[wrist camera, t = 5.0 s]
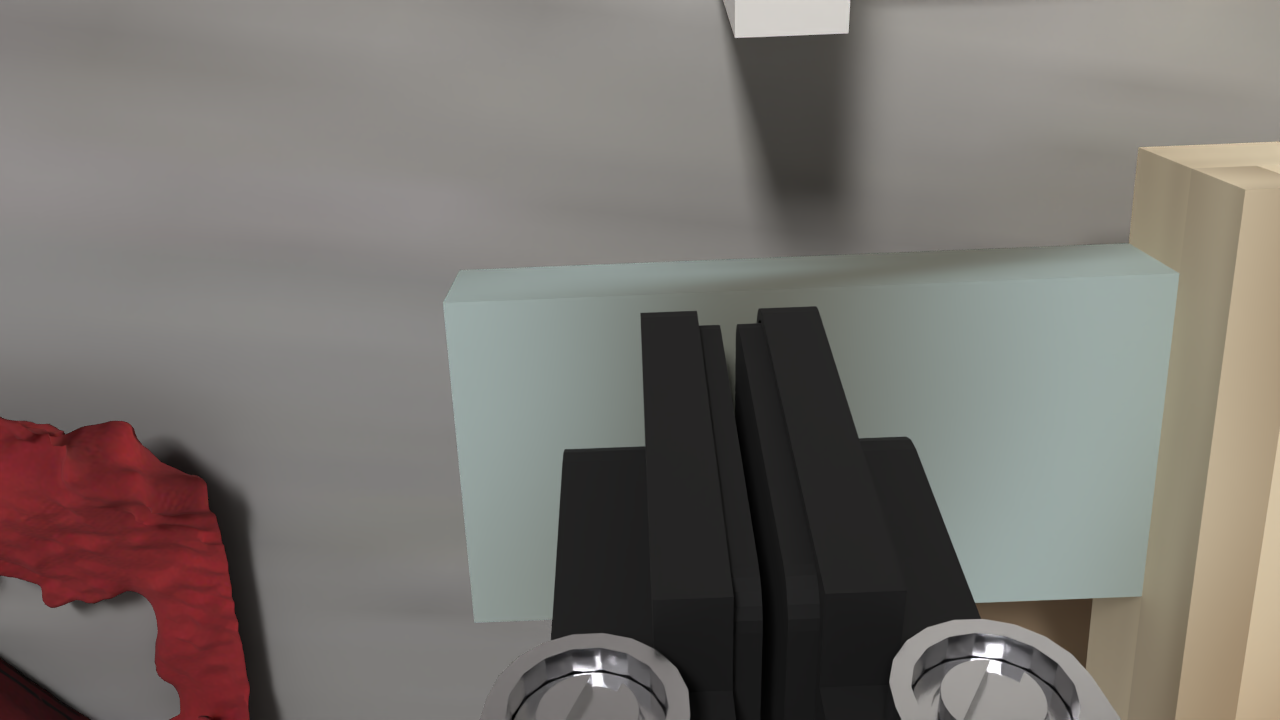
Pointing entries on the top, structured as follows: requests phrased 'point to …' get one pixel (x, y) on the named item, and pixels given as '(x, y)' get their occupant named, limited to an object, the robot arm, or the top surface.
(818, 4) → the dish
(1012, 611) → the fulcrum
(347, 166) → the top surface
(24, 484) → the plate with food
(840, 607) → the robot arm
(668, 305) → the lever
